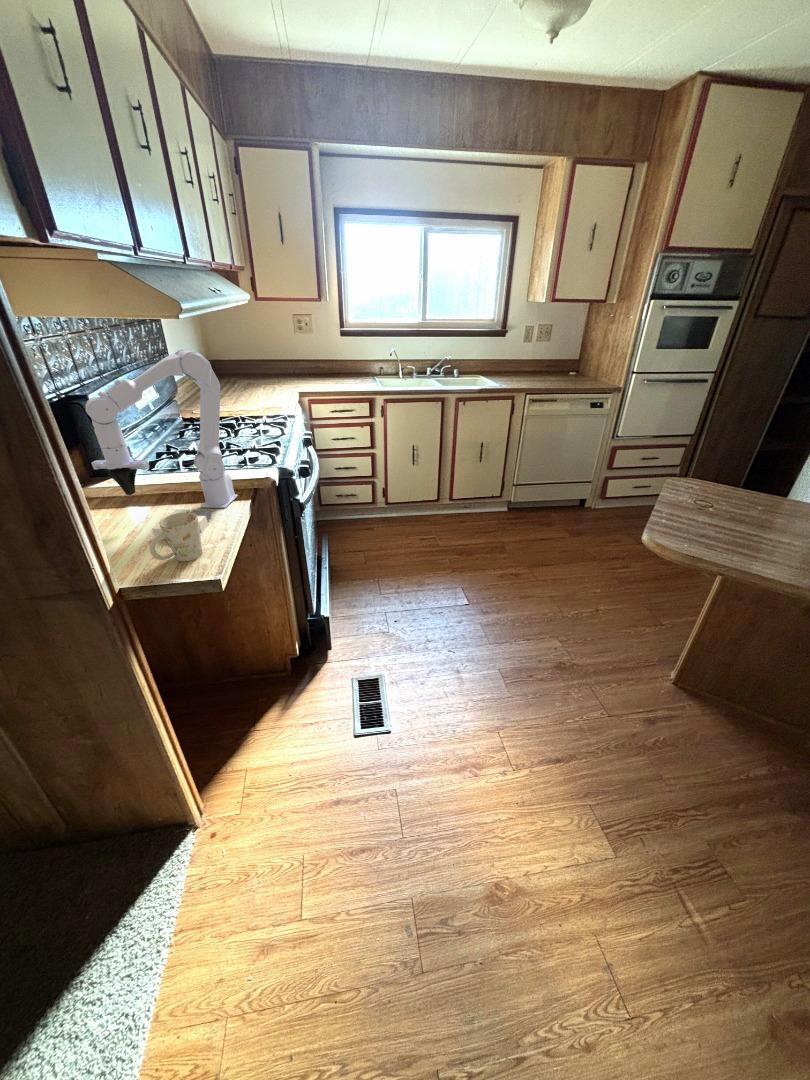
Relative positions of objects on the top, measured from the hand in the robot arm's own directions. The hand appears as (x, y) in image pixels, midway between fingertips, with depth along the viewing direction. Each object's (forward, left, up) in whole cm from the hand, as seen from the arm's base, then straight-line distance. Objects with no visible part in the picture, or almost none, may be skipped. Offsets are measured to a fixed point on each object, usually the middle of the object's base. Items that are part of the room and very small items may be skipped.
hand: (130, 493), depth 118 cm
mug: (+18, +22, -10) cm, 30 cm away
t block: (+2, +14, -9) cm, 17 cm away
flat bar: (+2, +16, -9) cm, 19 cm away
